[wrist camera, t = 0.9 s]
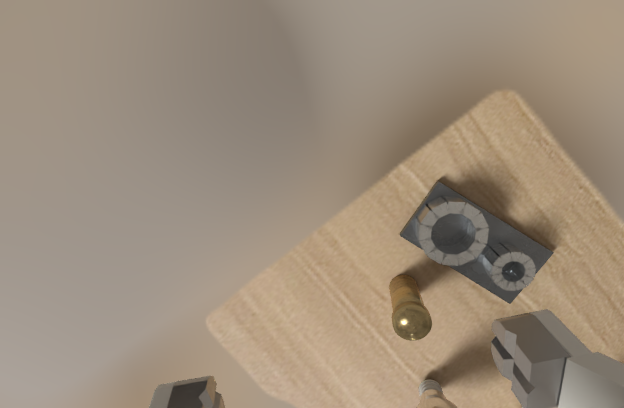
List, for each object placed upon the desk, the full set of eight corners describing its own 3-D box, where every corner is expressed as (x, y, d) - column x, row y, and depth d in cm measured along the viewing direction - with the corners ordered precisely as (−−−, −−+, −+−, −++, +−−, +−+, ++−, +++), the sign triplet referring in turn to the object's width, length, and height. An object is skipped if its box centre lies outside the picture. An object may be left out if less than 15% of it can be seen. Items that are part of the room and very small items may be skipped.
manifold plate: (550, 250, 51) (567, 262, 46) (507, 300, 53) (520, 316, 48) (437, 180, 51) (444, 186, 46) (399, 233, 53) (402, 243, 48)
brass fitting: (425, 283, 54) (439, 319, 44) (407, 307, 55) (417, 347, 45) (398, 266, 54) (406, 298, 44) (381, 291, 55) (385, 327, 45)
